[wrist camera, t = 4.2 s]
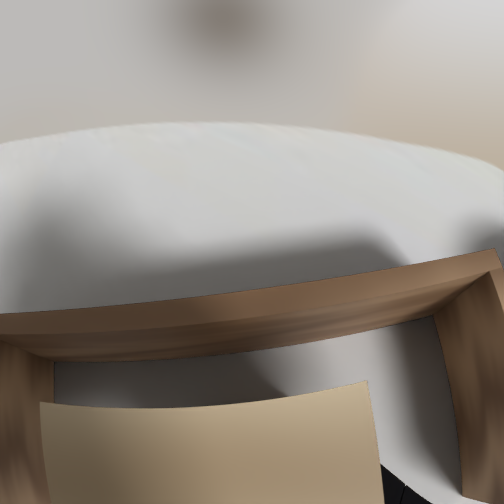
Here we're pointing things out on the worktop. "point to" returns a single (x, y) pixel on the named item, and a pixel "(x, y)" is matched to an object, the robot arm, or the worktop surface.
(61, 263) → the worktop surface
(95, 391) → the worktop surface
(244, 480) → the ash block
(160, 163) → the worktop surface
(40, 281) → the worktop surface
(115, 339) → the u-shaped wooden wall
